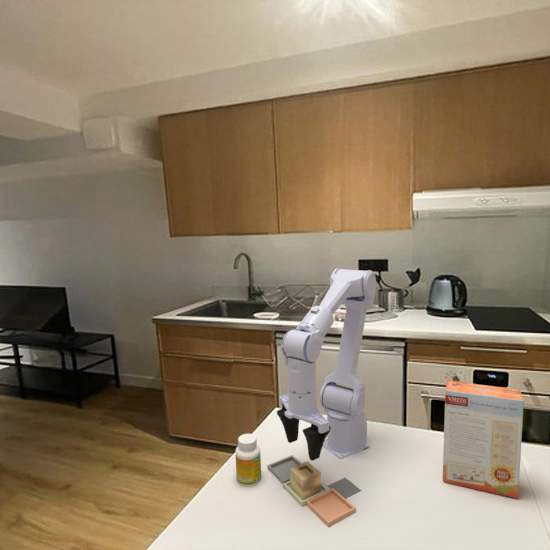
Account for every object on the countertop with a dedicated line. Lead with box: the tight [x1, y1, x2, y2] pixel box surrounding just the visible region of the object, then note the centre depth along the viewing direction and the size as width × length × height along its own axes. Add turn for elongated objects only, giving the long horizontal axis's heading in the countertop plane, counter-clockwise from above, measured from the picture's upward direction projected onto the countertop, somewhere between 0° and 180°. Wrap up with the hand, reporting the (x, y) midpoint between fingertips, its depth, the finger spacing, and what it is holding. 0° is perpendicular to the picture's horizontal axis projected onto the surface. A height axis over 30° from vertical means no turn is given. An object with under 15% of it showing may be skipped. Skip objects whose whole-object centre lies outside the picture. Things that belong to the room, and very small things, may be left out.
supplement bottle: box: [235, 433, 262, 487], centre depth 87 cm, size 5×5×10 cm
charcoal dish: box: [266, 455, 303, 485], centre depth 89 cm, size 7×7×1 cm
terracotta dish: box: [305, 488, 357, 528], centre depth 78 cm, size 7×7×1 cm
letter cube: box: [290, 460, 322, 500], centre depth 83 cm, size 4×4×5 cm
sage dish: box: [282, 481, 330, 507], centre depth 83 cm, size 7×7×1 cm
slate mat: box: [326, 477, 362, 500], centre depth 83 cm, size 5×5×1 cm
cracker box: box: [442, 379, 525, 499], centre depth 83 cm, size 14×6×21 cm, turn 65°
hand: (303, 449), depth 84 cm, fingers open, 7 cm apart
